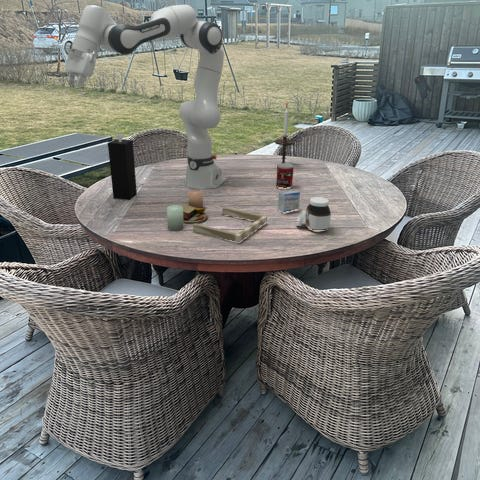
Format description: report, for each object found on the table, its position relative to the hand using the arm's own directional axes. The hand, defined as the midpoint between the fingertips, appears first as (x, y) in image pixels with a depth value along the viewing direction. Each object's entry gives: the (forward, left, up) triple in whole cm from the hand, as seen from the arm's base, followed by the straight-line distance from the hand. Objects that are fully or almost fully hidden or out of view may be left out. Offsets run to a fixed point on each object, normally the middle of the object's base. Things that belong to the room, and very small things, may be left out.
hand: (74, 86), depth 166 cm
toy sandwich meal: (-13, +42, -49) cm, 65 cm away
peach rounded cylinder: (-24, +37, -48) cm, 65 cm away
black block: (-18, +3, -48) cm, 52 cm away
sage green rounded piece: (-2, +43, -48) cm, 64 cm away
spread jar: (-29, +87, -48) cm, 104 cm away
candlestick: (-104, +41, -48) cm, 122 cm away
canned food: (-70, +57, -48) cm, 102 cm away
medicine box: (-41, +72, -48) cm, 96 cm away
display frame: (-13, +60, -48) cm, 78 cm away
